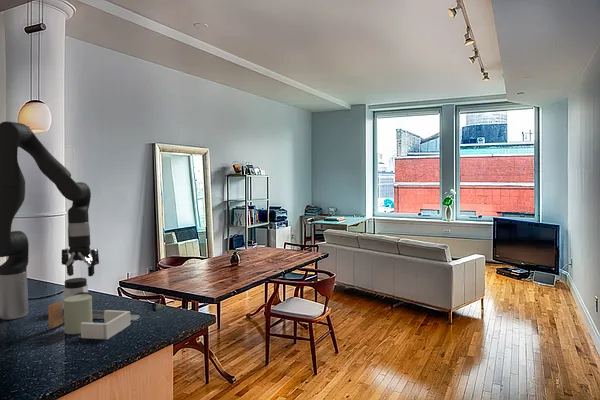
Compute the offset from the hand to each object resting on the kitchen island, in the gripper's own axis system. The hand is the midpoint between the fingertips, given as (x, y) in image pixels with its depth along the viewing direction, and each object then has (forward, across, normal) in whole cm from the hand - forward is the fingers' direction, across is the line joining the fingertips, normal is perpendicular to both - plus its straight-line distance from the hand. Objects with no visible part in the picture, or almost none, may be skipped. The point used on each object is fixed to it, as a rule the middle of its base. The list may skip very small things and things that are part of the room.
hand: (80, 275), depth 165 cm
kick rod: (+15, +4, -7) cm, 17 cm away
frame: (+16, +18, -13) cm, 27 cm away
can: (+16, +8, -13) cm, 22 cm away
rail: (+16, +10, 0) cm, 19 cm away
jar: (+16, -9, +9) cm, 21 cm away
